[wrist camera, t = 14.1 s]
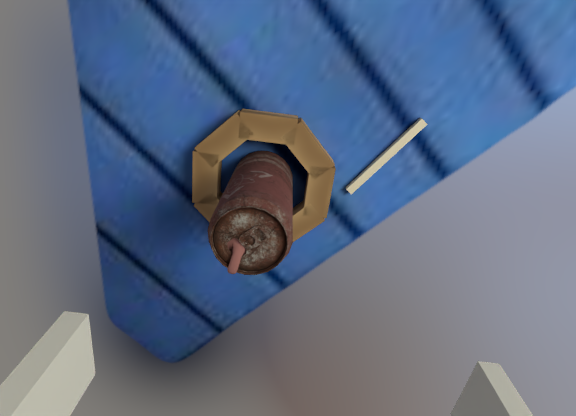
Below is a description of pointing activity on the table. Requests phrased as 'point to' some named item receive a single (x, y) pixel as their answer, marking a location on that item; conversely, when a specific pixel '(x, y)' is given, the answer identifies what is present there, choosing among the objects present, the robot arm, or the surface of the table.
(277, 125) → the wooden ring
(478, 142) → the table surface
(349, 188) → the straight beige square stick
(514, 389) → the robot arm
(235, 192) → the can
